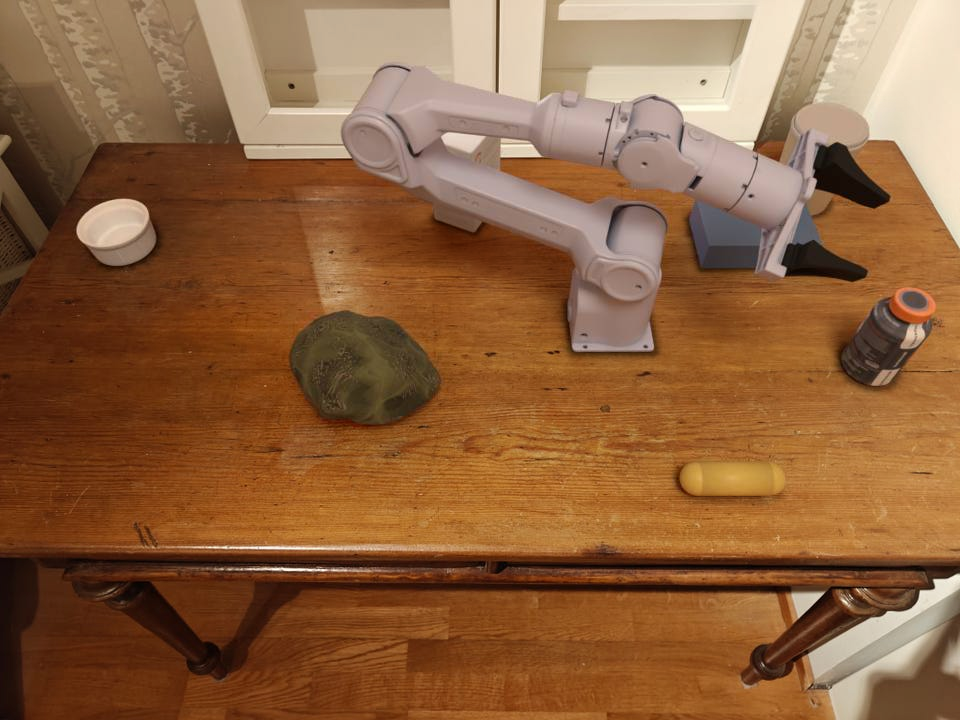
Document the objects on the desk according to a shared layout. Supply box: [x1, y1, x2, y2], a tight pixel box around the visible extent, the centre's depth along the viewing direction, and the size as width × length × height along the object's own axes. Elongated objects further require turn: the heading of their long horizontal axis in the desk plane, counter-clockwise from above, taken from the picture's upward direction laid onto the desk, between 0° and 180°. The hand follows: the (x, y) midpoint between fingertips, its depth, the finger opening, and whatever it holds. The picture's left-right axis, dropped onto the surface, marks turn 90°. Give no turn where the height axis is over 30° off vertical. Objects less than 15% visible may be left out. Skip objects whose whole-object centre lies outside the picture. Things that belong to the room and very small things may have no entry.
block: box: [688, 199, 824, 269], centre depth 90 cm, size 14×9×4 cm, turn 90°
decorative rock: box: [288, 309, 442, 426], centre depth 75 cm, size 15×16×10 cm
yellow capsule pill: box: [679, 460, 787, 497], centre depth 70 cm, size 10×3×3 cm, turn 90°
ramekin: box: [75, 198, 157, 267], centre depth 91 cm, size 9×9×4 cm
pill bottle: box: [840, 286, 937, 387], centre depth 75 cm, size 6×6×11 cm
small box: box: [432, 132, 502, 233], centre depth 91 cm, size 8×6×13 cm
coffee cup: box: [778, 102, 871, 217], centre depth 92 cm, size 9×9×12 cm
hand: (871, 239), depth 65 cm, fingers open, 7 cm apart
